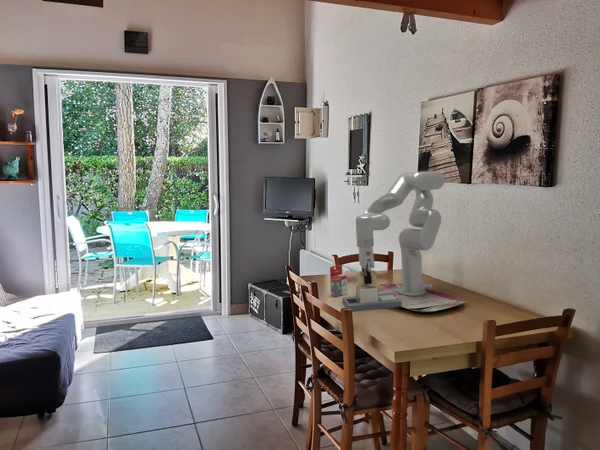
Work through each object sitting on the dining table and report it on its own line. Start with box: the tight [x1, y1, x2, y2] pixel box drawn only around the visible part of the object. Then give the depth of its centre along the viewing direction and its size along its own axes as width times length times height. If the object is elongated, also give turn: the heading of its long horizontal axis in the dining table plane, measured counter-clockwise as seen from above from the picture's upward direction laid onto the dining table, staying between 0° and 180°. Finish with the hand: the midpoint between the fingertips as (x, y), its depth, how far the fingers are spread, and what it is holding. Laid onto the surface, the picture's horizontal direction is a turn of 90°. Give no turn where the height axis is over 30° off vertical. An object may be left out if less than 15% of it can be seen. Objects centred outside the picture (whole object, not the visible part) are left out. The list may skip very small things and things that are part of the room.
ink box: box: [329, 264, 349, 298], centre depth 236 cm, size 4×8×15 cm, turn 123°
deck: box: [341, 292, 403, 312], centre depth 219 cm, size 24×14×3 cm, turn 96°
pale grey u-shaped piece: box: [355, 284, 379, 303], centre depth 218 cm, size 8×9×6 cm
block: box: [356, 269, 378, 299], centre depth 217 cm, size 8×4×12 cm, turn 96°
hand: (366, 282), depth 217 cm, fingers closed on block, 4 cm apart
